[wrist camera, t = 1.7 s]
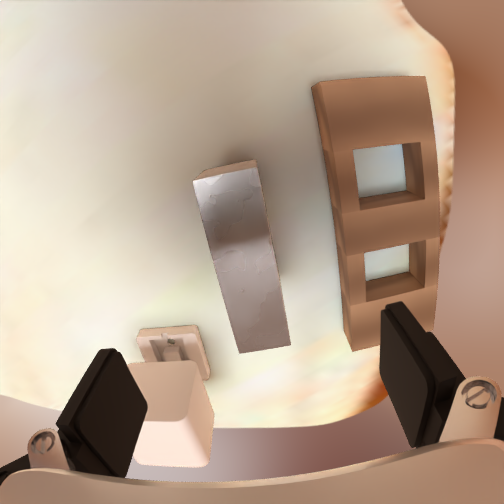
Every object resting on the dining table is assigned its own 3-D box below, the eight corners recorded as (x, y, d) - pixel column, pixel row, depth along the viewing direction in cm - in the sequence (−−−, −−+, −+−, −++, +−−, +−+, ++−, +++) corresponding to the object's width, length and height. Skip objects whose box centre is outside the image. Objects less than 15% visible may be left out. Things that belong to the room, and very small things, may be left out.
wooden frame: (311, 87, 20) (319, 81, 17) (406, 80, 19) (425, 76, 16) (343, 330, 27) (352, 351, 24) (419, 311, 27) (433, 329, 24)
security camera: (157, 384, 30) (134, 464, 20) (134, 329, 27) (95, 410, 18) (218, 382, 29) (209, 467, 20) (201, 324, 27) (182, 413, 18)
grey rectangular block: (212, 162, 22) (192, 181, 14) (255, 153, 22) (256, 167, 14) (242, 288, 26) (239, 353, 18) (280, 281, 25) (290, 345, 18)
